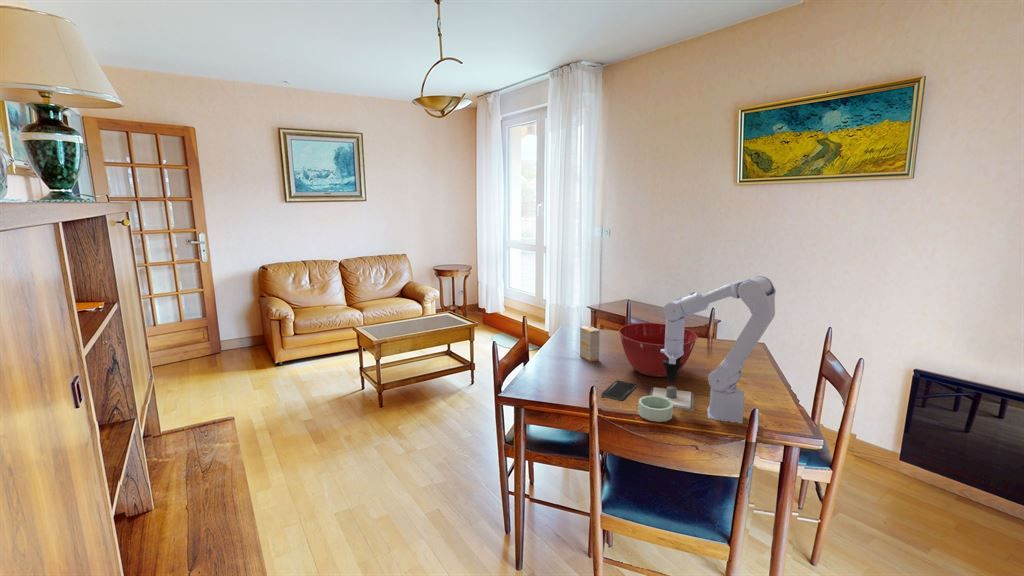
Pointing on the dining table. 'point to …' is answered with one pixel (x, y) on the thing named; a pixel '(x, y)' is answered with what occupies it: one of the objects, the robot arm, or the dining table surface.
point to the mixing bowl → (651, 347)
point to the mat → (678, 407)
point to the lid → (674, 396)
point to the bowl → (655, 408)
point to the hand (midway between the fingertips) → (672, 377)
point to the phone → (619, 390)
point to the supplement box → (589, 343)
